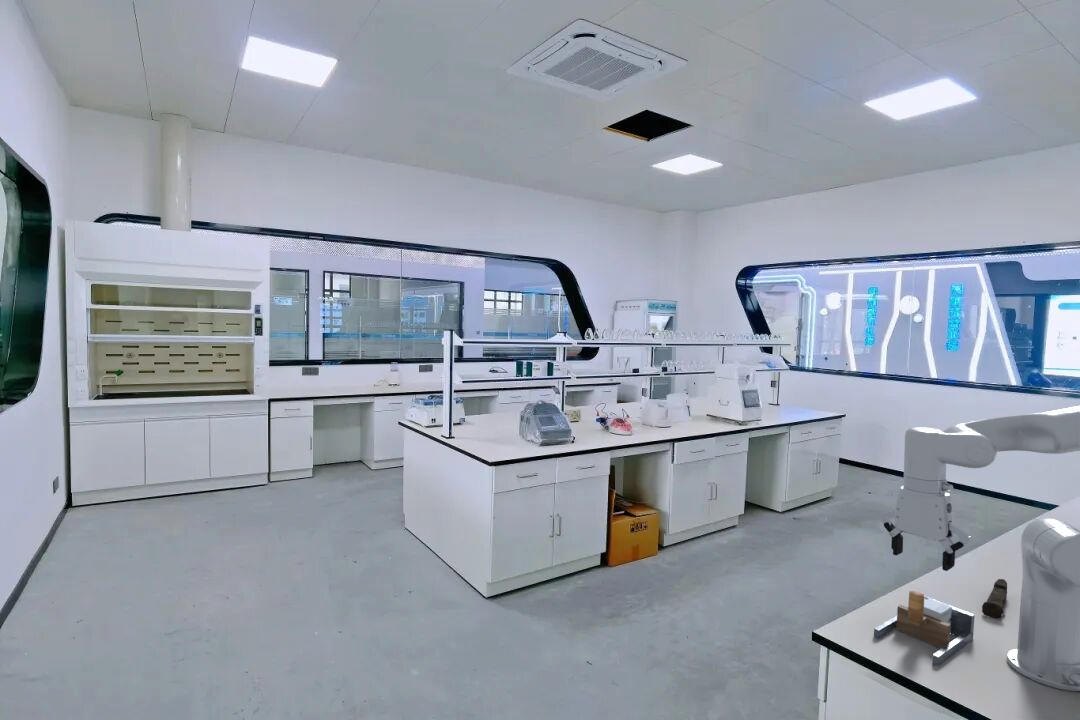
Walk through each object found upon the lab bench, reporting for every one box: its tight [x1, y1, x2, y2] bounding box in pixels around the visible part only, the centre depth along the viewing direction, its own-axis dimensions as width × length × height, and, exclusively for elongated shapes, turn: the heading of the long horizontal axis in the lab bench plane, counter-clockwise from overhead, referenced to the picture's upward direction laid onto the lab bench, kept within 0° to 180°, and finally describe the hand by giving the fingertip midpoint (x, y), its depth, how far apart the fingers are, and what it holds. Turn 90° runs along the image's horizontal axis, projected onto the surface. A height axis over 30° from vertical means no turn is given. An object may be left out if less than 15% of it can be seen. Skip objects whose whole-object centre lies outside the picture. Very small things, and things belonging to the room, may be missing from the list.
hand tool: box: [981, 578, 1008, 620], centre depth 141 cm, size 19×4×5 cm, turn 132°
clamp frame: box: [873, 595, 976, 667], centre depth 125 cm, size 18×13×6 cm
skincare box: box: [923, 595, 952, 631], centre depth 126 cm, size 6×6×7 cm
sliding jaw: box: [895, 590, 951, 649], centre depth 123 cm, size 6×10×12 cm, turn 33°
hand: (921, 561), depth 121 cm, fingers open, 9 cm apart
